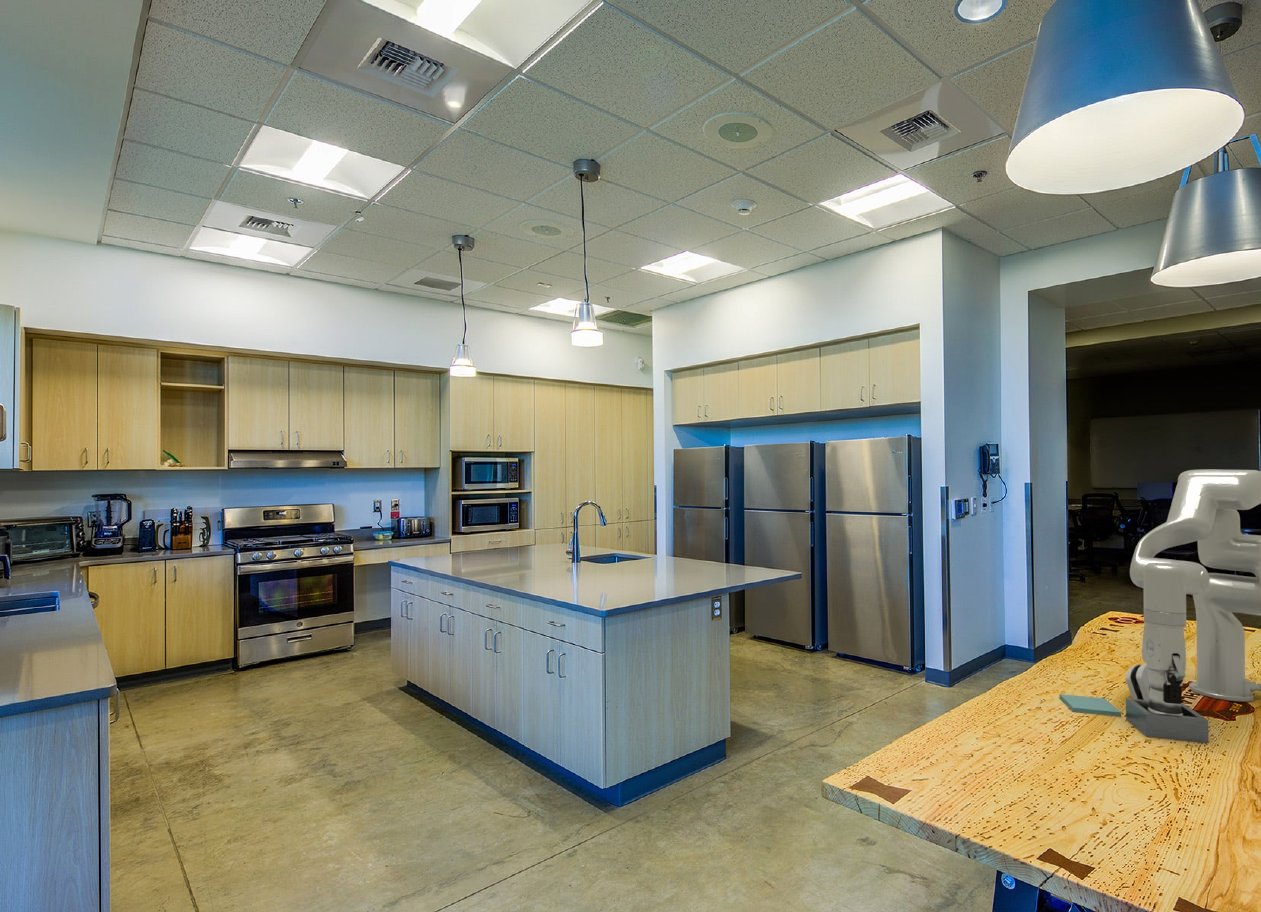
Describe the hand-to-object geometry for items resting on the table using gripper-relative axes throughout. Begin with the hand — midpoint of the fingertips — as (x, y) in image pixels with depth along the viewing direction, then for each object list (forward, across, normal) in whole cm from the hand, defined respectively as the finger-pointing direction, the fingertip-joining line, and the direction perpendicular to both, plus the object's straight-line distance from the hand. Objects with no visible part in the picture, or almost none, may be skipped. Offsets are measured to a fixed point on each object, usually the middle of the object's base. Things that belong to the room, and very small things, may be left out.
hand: (1165, 697), depth 149 cm
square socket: (+8, 0, 0) cm, 8 cm away
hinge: (+8, -23, +6) cm, 25 cm away
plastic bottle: (+8, 0, 0) cm, 8 cm away
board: (+8, -12, -11) cm, 18 cm away
